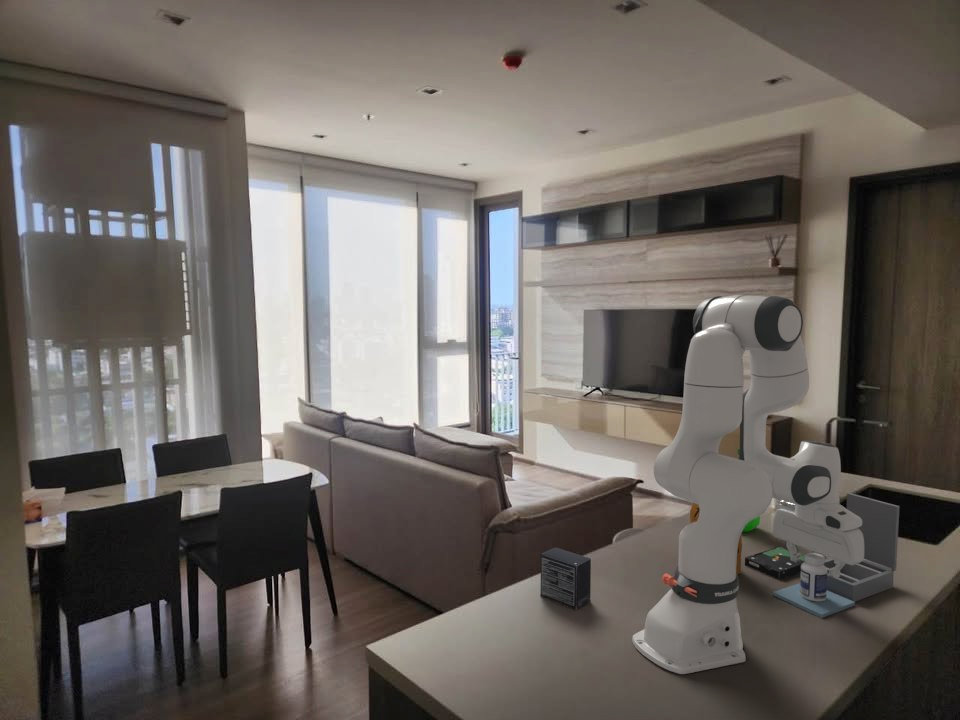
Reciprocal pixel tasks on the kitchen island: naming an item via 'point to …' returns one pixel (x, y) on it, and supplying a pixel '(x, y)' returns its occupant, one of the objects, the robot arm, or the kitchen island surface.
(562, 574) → the small box
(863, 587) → the hinged lid box
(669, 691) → the kitchen island surface
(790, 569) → the disk drive
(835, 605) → the mat
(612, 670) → the kitchen island surface
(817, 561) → the pill bottle
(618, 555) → the kitchen island surface
